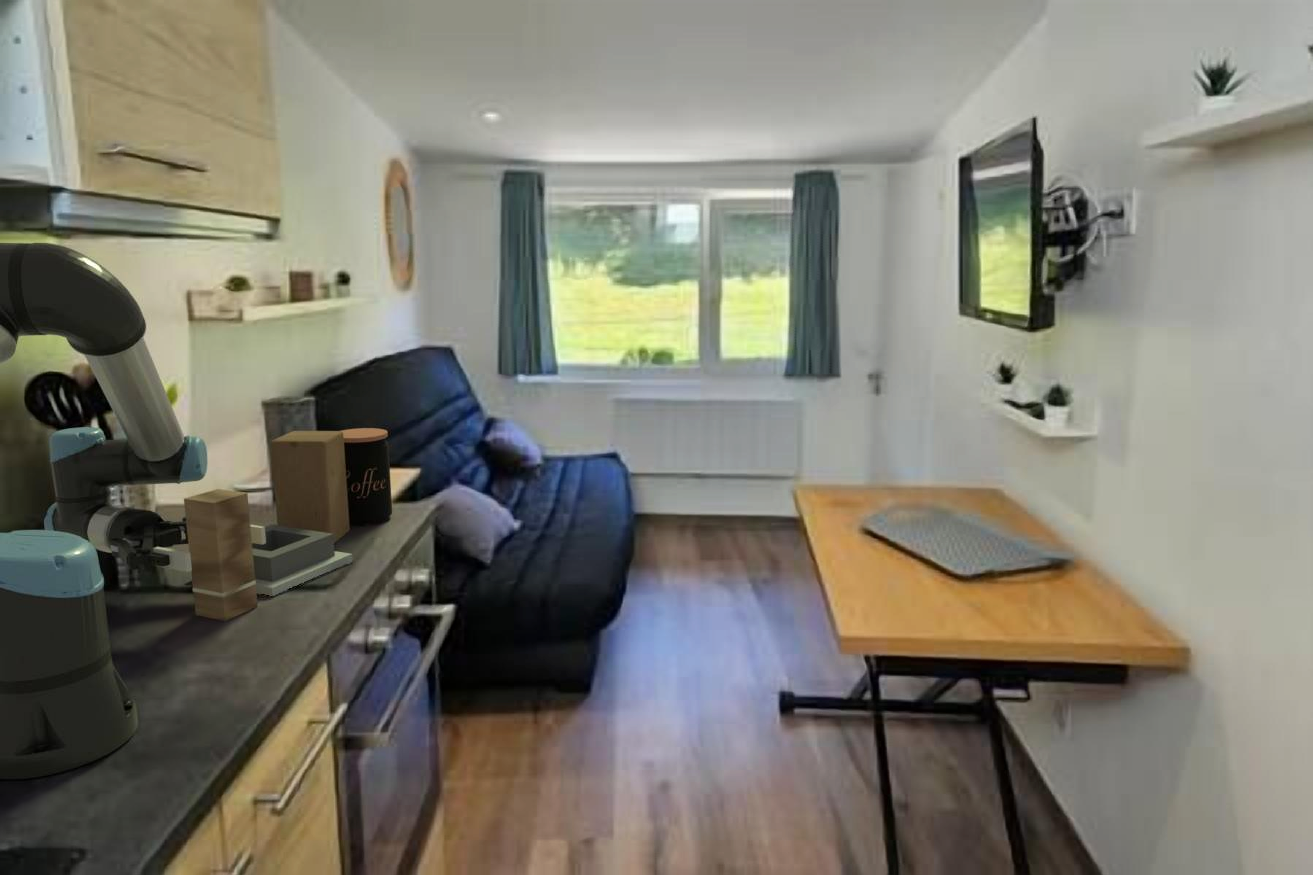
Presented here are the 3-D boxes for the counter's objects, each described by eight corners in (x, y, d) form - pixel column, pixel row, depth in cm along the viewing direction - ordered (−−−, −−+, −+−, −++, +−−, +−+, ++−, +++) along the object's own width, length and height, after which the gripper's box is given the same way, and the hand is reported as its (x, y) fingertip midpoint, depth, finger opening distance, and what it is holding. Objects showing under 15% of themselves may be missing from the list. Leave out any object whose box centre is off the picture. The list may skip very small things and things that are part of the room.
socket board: (272, 596, 142) (270, 563, 141) (190, 580, 149) (187, 548, 147) (352, 562, 158) (350, 532, 157) (274, 549, 165) (272, 520, 164)
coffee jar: (333, 527, 178) (327, 438, 174) (343, 513, 188) (337, 428, 185) (389, 525, 180) (384, 437, 176) (395, 510, 190) (391, 427, 186)
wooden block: (331, 546, 166) (324, 441, 162) (278, 546, 166) (269, 440, 162) (350, 530, 176) (344, 430, 172) (300, 530, 176) (292, 430, 172)
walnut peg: (225, 621, 132) (213, 503, 129) (195, 614, 134) (183, 498, 131) (258, 606, 138) (247, 493, 134) (228, 600, 140) (217, 488, 136)
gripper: (197, 532, 154) (292, 548, 146) (53, 579, 132) (156, 600, 124) (193, 490, 153) (289, 503, 145) (46, 530, 130) (150, 548, 122)
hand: (228, 548), depth 134 cm, fingers open, 13 cm apart
